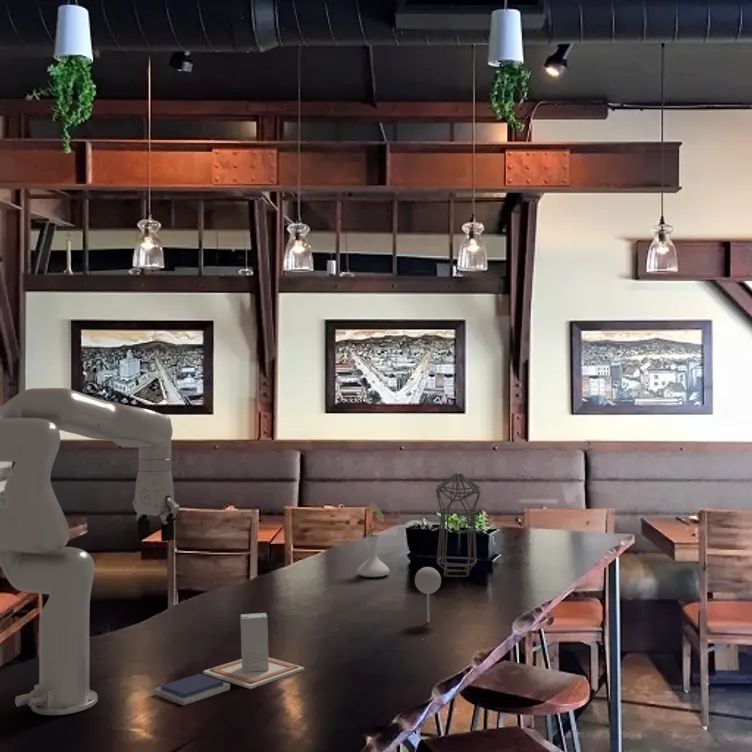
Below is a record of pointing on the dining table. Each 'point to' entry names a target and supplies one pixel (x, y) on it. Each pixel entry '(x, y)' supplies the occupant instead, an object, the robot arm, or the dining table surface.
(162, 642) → the dining table surface
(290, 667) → the white square board
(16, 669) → the dining table surface
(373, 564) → the flower in vase
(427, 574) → the lollipop
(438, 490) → the geometric lantern
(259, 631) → the skincare box
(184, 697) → the ink pad
